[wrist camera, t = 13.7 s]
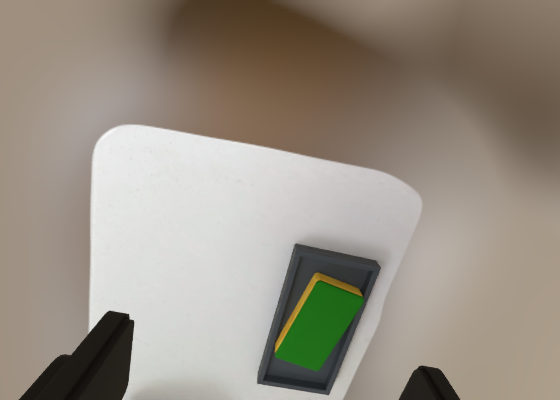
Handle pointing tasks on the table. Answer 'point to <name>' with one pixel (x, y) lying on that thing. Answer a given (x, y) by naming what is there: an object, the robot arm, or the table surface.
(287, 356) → the dish sponge
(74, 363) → the robot arm
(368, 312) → the table surface
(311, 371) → the tray
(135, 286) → the table surface
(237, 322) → the table surface
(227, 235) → the table surface
